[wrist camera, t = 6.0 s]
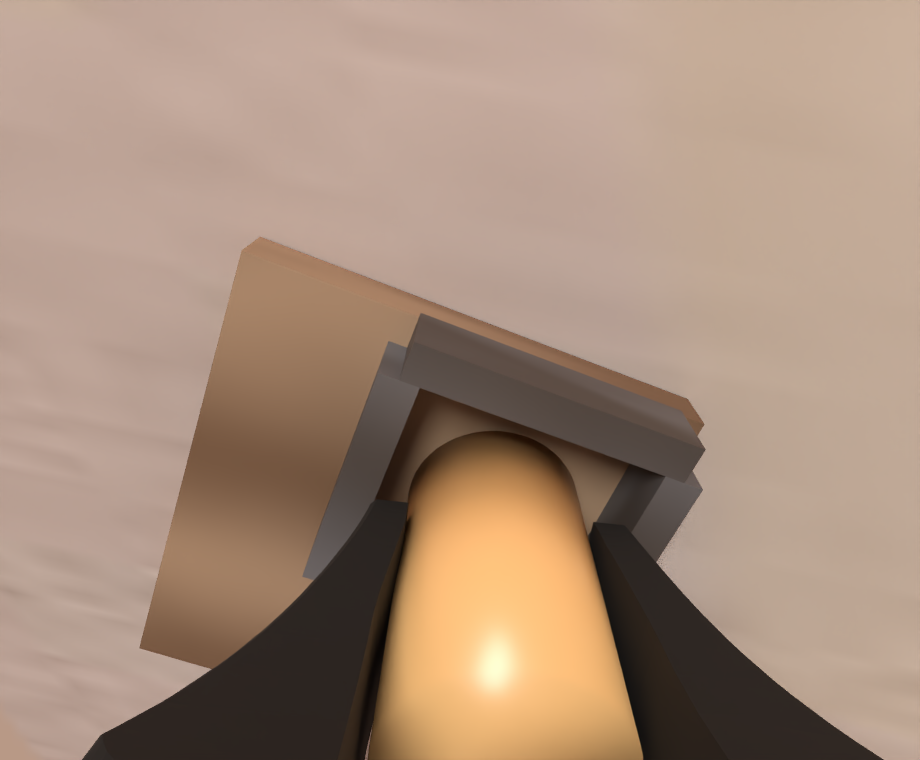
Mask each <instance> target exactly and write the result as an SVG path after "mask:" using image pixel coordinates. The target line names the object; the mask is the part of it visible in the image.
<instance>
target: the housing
mask: <svg viewBox="0 0 920 760" xmlns="http://www.w3.org/2000/svg"><path fill="white" fill-rule="evenodd" d="M703 426H704V423H703V421H702V420H701V418H700V417H699V415H698V414H697V412H696V411H695V409H694V408H693V406H692V405H691V403H690V402H689V400H688V399H686V398H683V397H680V396H678V395H675V394H673V393H670V392H667V391H665V390H662V389H659V388H657V387H654V386H651V385H649V384H646V383H644V382H641V381H638V380H636V379H633V378H630V377H628V376H625V375H622V374H620V373H617V372H615V371H612V370H609V369H607V368H604V367H601V366H599V365H596V364H593V363H591V362H588V361H586V360H583V359H580V358H578V357H575V356H572V355H570V354H567V353H565V352H562V351H559V350H557V349H554V348H551V347H549V346H546V345H543V344H541V343H538V342H536V341H533V340H530V339H528V338H525V337H522V336H520V335H517V334H514V333H512V332H509V331H507V330H504V329H501V328H499V327H496V326H493V325H491V324H488V323H485V322H483V321H480V320H478V319H475V318H472V317H470V316H467V315H464V314H462V313H459V312H456V311H454V310H451V309H449V308H446V307H443V306H441V305H438V304H435V303H433V302H430V301H428V300H425V299H422V298H420V297H417V296H414V295H412V294H409V293H406V292H404V291H401V290H399V289H396V288H393V287H391V286H388V285H385V284H383V283H380V282H377V281H375V280H372V279H370V278H367V277H364V276H362V275H359V274H356V273H354V272H351V271H348V270H346V269H343V268H341V267H338V266H335V265H333V264H330V263H327V262H325V261H322V260H319V259H317V258H314V257H312V256H309V255H306V254H304V253H301V252H298V251H296V250H293V249H290V248H288V247H285V246H283V245H280V244H277V243H275V242H272V241H269V240H267V239H264V238H262V237H259V238H258V239H257V240H255V241H254V242H253V243H251V244H250V245H249V246H247V247H246V248H244V249H243V250H242V251H241V255H240V259H239V263H238V267H237V271H236V275H235V278H234V282H233V286H232V290H231V294H230V298H229V302H228V306H227V310H226V313H225V317H224V321H223V325H222V329H221V333H220V337H219V341H218V345H217V348H216V352H215V356H214V360H213V364H212V368H211V372H210V376H209V379H208V383H207V387H206V391H205V395H204V399H203V403H202V407H201V411H200V414H199V418H198V422H197V426H196V430H195V434H194V438H193V442H192V446H191V449H190V453H189V457H188V461H187V465H186V469H185V473H184V477H183V481H182V484H181V488H180V492H179V496H178V500H177V504H176V508H175V512H174V515H173V519H172V523H171V527H170V531H169V535H168V539H167V543H166V547H165V550H164V554H163V558H162V562H161V566H160V570H159V574H158V578H157V582H156V585H155V589H154V593H153V597H152V601H151V605H150V609H149V613H148V616H147V620H146V624H145V628H144V632H143V636H142V640H141V644H140V648H141V649H144V650H148V651H151V652H155V653H158V654H162V655H165V656H169V657H172V658H175V659H179V660H182V661H186V662H189V663H193V664H196V665H200V666H203V667H207V668H210V669H213V668H215V667H216V666H218V665H219V664H220V663H222V662H223V661H224V660H226V659H227V658H228V657H230V656H231V655H232V654H234V653H235V652H236V651H238V650H239V649H240V648H241V647H243V646H244V645H245V644H246V643H248V642H249V641H250V640H251V639H252V638H254V637H255V636H256V635H257V634H259V633H260V632H261V631H262V630H263V629H265V628H266V627H267V626H268V625H269V624H270V623H271V622H272V621H274V620H275V619H276V618H277V617H278V616H279V615H280V614H281V613H282V612H283V611H284V610H285V609H287V608H288V607H289V606H290V605H291V604H292V603H293V602H294V601H295V600H296V599H297V598H298V597H299V596H300V595H301V594H302V593H303V591H304V590H305V589H306V588H307V587H308V586H309V585H310V584H311V583H312V582H313V581H314V579H315V578H316V577H317V576H318V575H319V574H320V573H321V572H322V571H323V570H324V568H325V567H326V566H327V565H328V564H329V563H330V561H331V560H332V559H333V557H334V556H335V555H336V554H337V552H338V551H339V550H340V549H341V547H342V546H343V545H344V544H345V542H346V541H347V540H348V538H349V537H350V536H351V534H352V533H353V531H354V530H355V529H356V527H357V526H358V524H359V523H360V521H361V519H362V518H363V516H364V515H365V513H366V511H367V509H368V508H369V506H370V504H371V503H372V502H374V501H375V500H377V499H379V500H388V501H398V502H407V500H408V493H409V488H410V485H411V481H412V479H413V477H414V475H415V473H416V471H417V469H418V468H419V466H420V465H421V463H422V462H423V461H424V460H425V459H426V458H427V457H428V456H429V455H430V454H431V453H432V452H433V451H434V450H436V449H437V448H439V447H440V446H442V445H443V444H445V443H447V442H449V441H451V440H453V439H455V438H457V437H460V436H463V435H466V434H471V433H475V432H483V431H504V432H512V433H516V434H520V435H523V436H526V437H529V438H531V439H534V440H536V441H538V442H539V443H541V444H543V445H545V446H546V447H547V448H549V449H550V450H552V451H553V452H554V453H555V454H556V455H557V456H558V457H559V458H560V459H561V460H562V461H563V463H564V464H565V465H566V467H567V468H568V470H569V472H570V474H571V476H572V478H573V481H574V483H575V487H576V491H577V495H578V499H579V503H580V507H581V511H582V515H583V519H584V523H585V527H586V531H587V535H588V539H589V538H590V533H591V529H592V525H593V522H598V523H608V524H617V525H625V526H626V527H627V529H628V530H629V531H630V532H631V533H632V534H633V535H634V537H635V538H636V539H637V540H638V541H639V543H640V544H641V545H642V546H643V547H644V549H645V550H646V551H647V552H648V553H649V555H650V556H651V557H652V558H653V559H654V561H655V562H656V561H657V560H658V558H659V557H660V555H661V554H662V552H663V551H664V549H665V547H666V546H667V544H668V543H669V541H670V540H671V538H672V537H673V535H674V534H675V532H676V531H677V529H678V527H679V526H680V524H681V523H682V521H683V520H684V518H685V517H686V515H687V514H688V512H689V510H690V509H691V507H692V506H693V504H694V503H695V501H696V500H697V498H698V497H699V495H700V493H701V492H702V490H703V489H702V487H701V486H700V484H699V482H698V480H697V478H696V477H695V475H694V473H693V471H692V470H693V469H694V467H695V466H696V464H697V463H698V461H699V459H700V458H701V456H702V455H703V453H704V451H705V450H706V449H705V448H704V446H703V445H702V443H701V441H700V440H699V438H698V437H697V435H698V434H699V432H700V431H701V429H702V427H703Z"/></svg>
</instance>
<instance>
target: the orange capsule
mask: <svg viewBox="0 0 920 760" xmlns="http://www.w3.org/2000/svg"><path fill="white" fill-rule="evenodd" d="M407 503H408V513H407V523H406V530H405V536H404V543H403V549H402V556H401V561H400V565H399V569H398V573H397V578H396V583H395V588H394V593H393V597H392V603H391V610H390V616H389V623H388V629H387V636H386V642H385V649H384V655H383V662H382V668H381V675H380V681H379V687H378V694H377V700H376V707H375V713H374V720H373V726H372V733H371V739H370V746H369V753H368V760H643V753H642V749H641V744H640V740H639V736H638V732H637V728H636V725H635V721H634V717H633V713H632V709H631V705H630V701H629V697H628V693H627V689H626V685H625V681H624V677H623V673H622V669H621V665H620V661H619V657H618V653H617V649H616V645H615V641H614V637H613V634H612V630H611V626H610V622H609V618H608V614H607V610H606V606H605V602H604V598H603V594H602V590H601V586H600V582H599V578H598V574H597V570H596V566H595V562H594V558H593V554H592V550H591V546H590V543H589V539H588V535H587V531H586V527H585V523H584V519H583V515H582V511H581V507H580V503H579V499H578V495H577V491H576V487H575V483H574V481H573V478H572V476H571V474H570V472H569V470H568V468H567V467H566V465H565V464H564V463H563V461H562V460H561V459H560V458H559V457H558V456H557V455H556V454H555V453H554V452H553V451H552V450H550V449H549V448H547V447H546V446H545V445H543V444H541V443H539V442H538V441H536V440H534V439H531V438H529V437H526V436H523V435H520V434H516V433H512V432H504V431H483V432H475V433H471V434H466V435H463V436H460V437H457V438H455V439H453V440H451V441H449V442H447V443H445V444H443V445H442V446H440V447H439V448H437V449H436V450H434V451H433V452H432V453H431V454H430V455H429V456H428V457H427V458H426V459H425V460H424V461H423V462H422V463H421V465H420V466H419V468H418V469H417V471H416V473H415V475H414V477H413V479H412V481H411V485H410V488H409V493H408V500H407Z"/></svg>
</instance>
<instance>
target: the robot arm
mask: <svg viewBox="0 0 920 760" xmlns="http://www.w3.org/2000/svg"><path fill="white" fill-rule="evenodd" d="M407 513H408V503H407V502H398V501H388V500H379V499H377V500H375V501H374V502H372V503H371V504H370V506H369V508H368V509H367V511H366V513H365V515H364V516H363V518H362V519H361V521H360V523H359V524H358V526H357V527H356V529H355V530H354V531H353V533H352V534H351V536H350V537H349V538H348V540H347V541H346V542H345V544H344V545H343V546H342V547H341V549H340V550H339V551H338V552H337V554H336V555H335V556H334V557H333V559H332V560H331V561H330V563H329V564H328V565H327V566H326V567H325V568H324V570H323V571H322V572H321V573H320V574H319V575H318V576H317V577H316V578H315V579H314V581H313V582H312V583H311V584H310V585H309V586H308V587H307V588H306V589H305V590H304V591H303V593H302V594H301V595H300V596H299V597H298V598H297V599H296V600H295V601H294V602H293V603H292V604H291V605H290V606H289V607H288V608H287V609H285V610H284V611H283V612H282V613H281V614H280V615H279V616H278V617H277V618H276V619H275V620H274V621H272V622H271V623H270V624H269V625H268V626H267V627H266V628H265V629H263V630H262V631H261V632H260V633H259V634H257V635H256V636H255V637H254V638H252V639H251V640H250V641H249V642H248V643H246V644H245V645H244V646H243V647H241V648H240V649H239V650H238V651H236V652H235V653H234V654H232V655H231V656H230V657H228V658H227V659H226V660H224V661H223V662H222V663H220V664H219V665H218V666H216V667H215V668H213V669H212V670H210V671H209V672H207V673H206V674H204V675H203V676H201V677H200V678H198V679H197V680H195V681H194V682H192V683H191V684H189V685H188V686H186V687H185V688H183V689H182V690H180V691H179V692H177V693H176V694H174V695H173V696H171V697H169V698H168V699H166V700H164V701H163V702H161V703H159V704H158V705H156V706H154V707H152V708H150V709H148V710H147V711H145V712H143V713H141V714H139V715H137V716H136V717H134V718H132V719H130V720H128V721H126V722H125V723H123V724H121V725H119V726H117V727H115V728H113V729H111V730H109V731H107V732H105V733H103V734H102V735H100V737H99V738H98V739H97V741H96V742H95V743H94V745H93V746H92V747H91V749H90V750H89V751H88V753H87V754H86V755H85V757H84V758H83V759H82V760H364V759H365V754H366V749H367V745H368V740H369V736H370V732H371V728H372V724H373V720H374V713H375V707H376V700H377V694H378V687H379V681H380V675H381V668H382V662H383V655H384V649H385V642H386V636H387V629H388V623H389V616H390V610H391V603H392V597H393V593H394V588H395V583H396V578H397V573H398V569H399V565H400V561H401V556H402V549H403V543H404V536H405V530H406V523H407ZM589 543H590V546H591V550H592V554H593V558H594V562H595V566H596V570H597V574H598V578H599V582H600V586H601V590H602V594H603V598H604V602H605V606H606V610H607V614H608V618H609V622H610V626H611V630H612V634H613V637H614V641H615V645H616V649H617V653H618V657H619V661H620V665H621V669H622V673H623V677H624V681H625V685H626V689H627V693H628V697H629V701H630V705H631V709H632V713H633V717H634V721H635V725H636V728H637V732H638V736H639V740H640V744H641V749H642V753H643V760H883V759H882V758H880V757H879V756H877V755H876V754H874V753H873V752H871V751H869V750H868V749H866V748H865V747H863V746H862V745H860V744H859V743H857V742H856V741H854V740H853V739H851V738H850V737H848V736H847V735H846V734H844V733H843V732H841V731H840V730H838V729H837V728H835V727H834V726H833V725H831V724H830V723H828V722H827V721H826V720H824V719H823V718H822V717H820V716H819V715H818V714H816V713H815V712H814V711H812V710H811V709H810V708H808V707H807V706H806V705H804V704H803V703H802V702H800V701H799V700H798V699H796V698H795V697H794V696H792V695H791V694H790V693H789V692H787V691H786V690H785V689H784V688H782V687H781V686H780V685H779V684H777V683H776V682H775V681H774V680H772V679H771V678H770V677H769V676H768V675H767V674H766V673H764V672H763V671H762V670H761V669H760V668H759V667H757V666H756V665H755V664H754V663H753V662H752V661H751V660H749V659H748V658H747V657H746V656H745V655H744V654H743V653H741V652H740V651H739V650H738V649H737V648H736V647H735V646H734V645H733V644H732V643H731V642H730V641H729V640H728V639H727V638H726V637H725V636H724V635H723V634H722V633H721V632H720V631H719V630H718V629H717V628H716V627H715V626H714V625H713V624H712V623H711V622H710V621H709V620H708V619H707V618H706V617H705V616H704V615H703V614H702V613H701V612H700V611H699V610H698V609H697V608H696V607H695V606H694V605H693V604H692V603H691V602H690V601H689V599H688V598H687V597H686V596H685V595H684V594H683V593H682V592H681V591H680V590H679V588H678V587H677V586H676V585H675V584H674V583H673V582H672V580H671V579H670V578H669V577H668V576H667V575H666V574H665V572H664V571H663V570H662V569H661V568H660V567H659V565H658V564H657V563H656V562H655V561H654V559H653V558H652V557H651V556H650V555H649V553H648V552H647V551H646V550H645V549H644V547H643V546H642V545H641V544H640V543H639V541H638V540H637V539H636V538H635V537H634V535H633V534H632V533H631V532H630V531H629V530H628V529H627V527H626V526H625V525H617V524H608V523H598V522H593V525H592V529H591V533H590V538H589Z"/></svg>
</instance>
